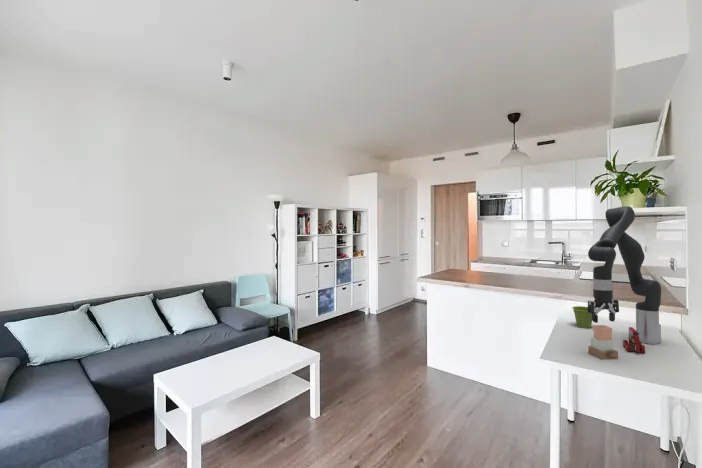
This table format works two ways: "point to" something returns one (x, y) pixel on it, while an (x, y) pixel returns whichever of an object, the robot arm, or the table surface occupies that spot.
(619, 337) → the table surface
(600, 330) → the terracotta block
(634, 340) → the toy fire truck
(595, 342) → the greygreen middle
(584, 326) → the plant pot
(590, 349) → the walnut base
